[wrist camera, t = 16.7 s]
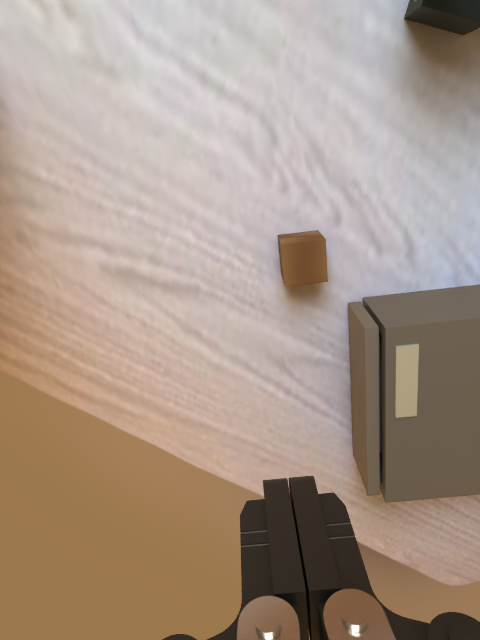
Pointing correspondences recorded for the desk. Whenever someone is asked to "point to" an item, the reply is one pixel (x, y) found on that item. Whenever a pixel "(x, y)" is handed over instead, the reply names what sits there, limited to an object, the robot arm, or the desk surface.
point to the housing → (429, 392)
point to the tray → (366, 394)
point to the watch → (446, 14)
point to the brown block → (303, 258)
